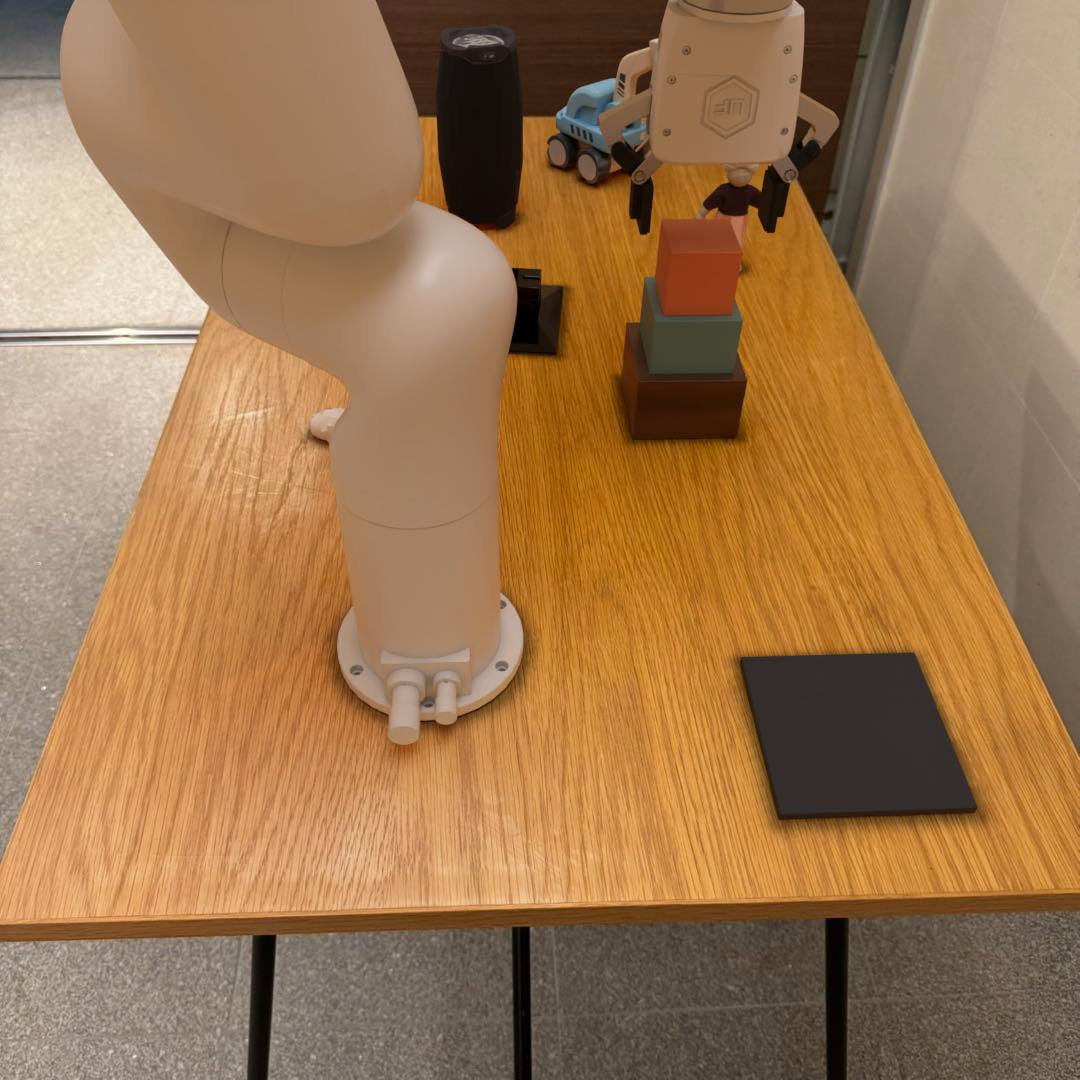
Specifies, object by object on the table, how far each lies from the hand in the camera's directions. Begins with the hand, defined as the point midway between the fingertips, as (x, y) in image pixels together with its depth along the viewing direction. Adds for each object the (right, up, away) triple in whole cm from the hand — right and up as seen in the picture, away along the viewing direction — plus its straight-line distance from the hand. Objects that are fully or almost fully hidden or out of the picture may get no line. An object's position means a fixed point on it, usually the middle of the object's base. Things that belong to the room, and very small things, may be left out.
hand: (704, 225), depth 77 cm
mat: (+7, -37, -13) cm, 40 cm away
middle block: (0, -8, +8) cm, 11 cm away
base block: (0, -12, +12) cm, 17 cm away
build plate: (-14, -2, +22) cm, 26 cm away
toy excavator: (-4, +21, +46) cm, 51 cm away
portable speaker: (-19, +13, +38) cm, 44 cm away
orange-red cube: (0, -5, +4) cm, 6 cm away
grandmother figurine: (+7, +5, +30) cm, 32 cm away
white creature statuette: (-26, -15, +9) cm, 31 cm away
